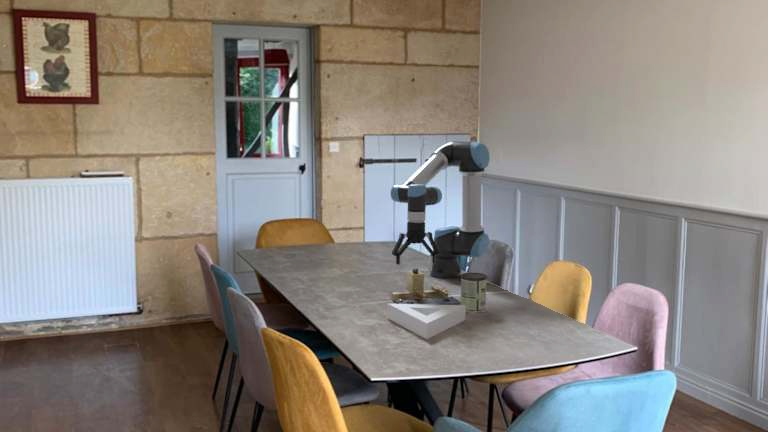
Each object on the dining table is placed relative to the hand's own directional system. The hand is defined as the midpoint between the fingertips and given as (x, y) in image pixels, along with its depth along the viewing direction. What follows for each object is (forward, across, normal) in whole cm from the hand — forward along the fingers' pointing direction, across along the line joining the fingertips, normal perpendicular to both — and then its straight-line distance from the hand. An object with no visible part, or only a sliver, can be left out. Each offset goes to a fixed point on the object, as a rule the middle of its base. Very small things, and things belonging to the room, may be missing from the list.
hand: (415, 271), depth 329 cm
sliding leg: (+10, 0, +4) cm, 11 cm away
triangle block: (+13, +12, +35) cm, 39 cm away
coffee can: (+12, -17, +22) cm, 30 cm away
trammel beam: (+12, -2, +4) cm, 13 cm away
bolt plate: (+12, -2, +11) cm, 16 cm away
